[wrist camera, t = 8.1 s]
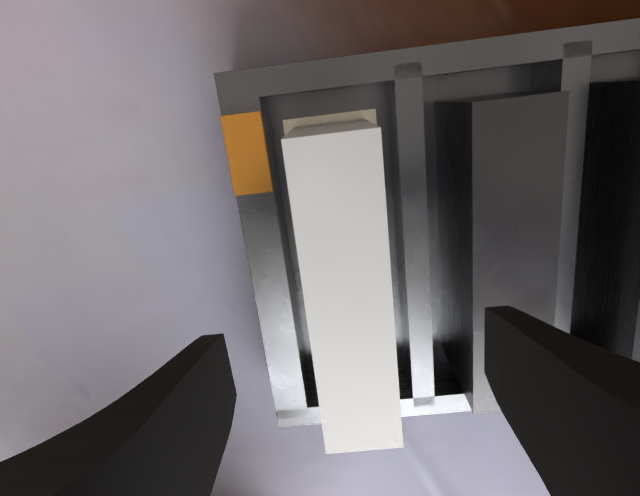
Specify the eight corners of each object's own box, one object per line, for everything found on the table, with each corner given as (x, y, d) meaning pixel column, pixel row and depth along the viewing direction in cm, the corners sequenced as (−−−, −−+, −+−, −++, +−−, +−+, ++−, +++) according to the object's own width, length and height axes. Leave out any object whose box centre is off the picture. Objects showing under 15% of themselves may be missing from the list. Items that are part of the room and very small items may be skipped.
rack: (657, 350, 23) (760, 428, 18) (284, 384, 24) (273, 469, 19) (708, 16, 18) (876, -21, 12) (232, 77, 19) (194, 68, 13)
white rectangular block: (383, 359, 22) (403, 447, 17) (325, 364, 23) (326, 454, 17) (364, 118, 19) (381, 127, 13) (294, 127, 19) (280, 139, 13)
